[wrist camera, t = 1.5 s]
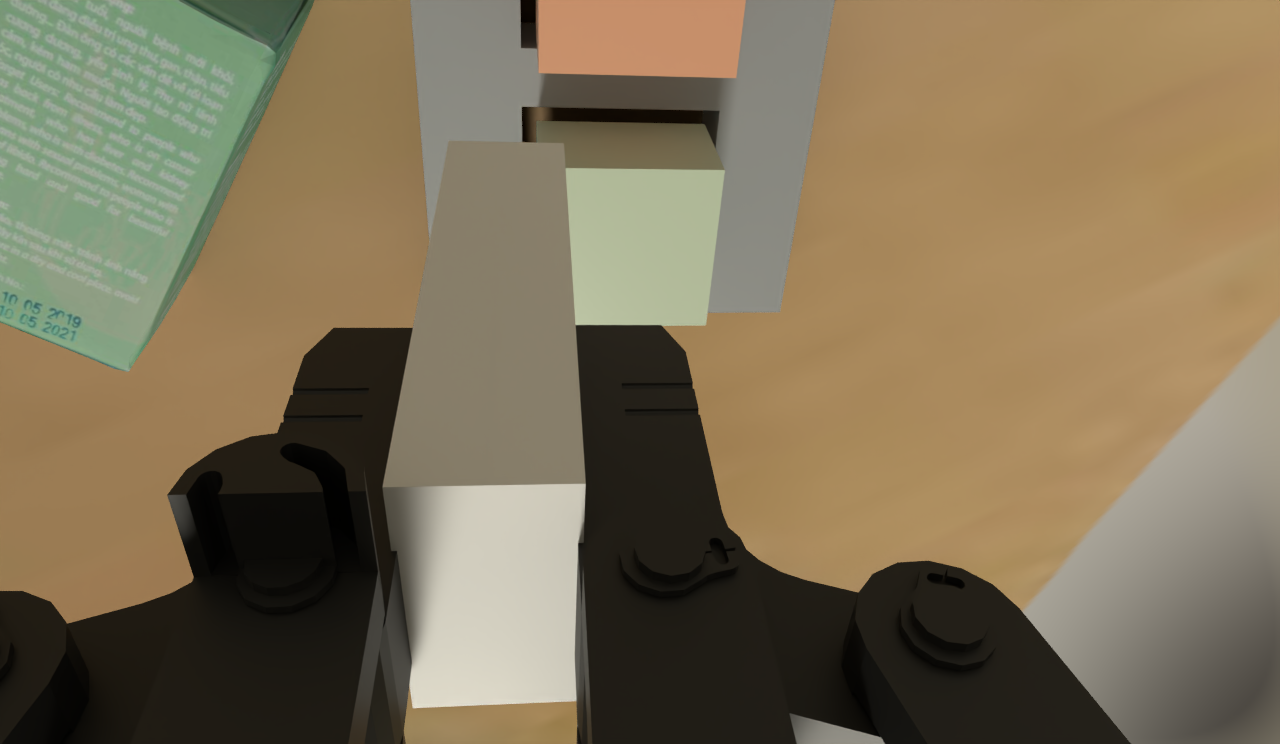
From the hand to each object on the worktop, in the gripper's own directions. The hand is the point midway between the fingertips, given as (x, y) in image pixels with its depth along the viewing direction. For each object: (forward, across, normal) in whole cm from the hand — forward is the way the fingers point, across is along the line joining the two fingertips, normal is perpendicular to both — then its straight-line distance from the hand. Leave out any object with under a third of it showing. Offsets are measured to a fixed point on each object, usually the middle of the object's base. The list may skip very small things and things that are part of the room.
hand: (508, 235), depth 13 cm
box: (+23, -13, -6) cm, 27 cm away
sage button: (+20, +3, -9) cm, 22 cm away
